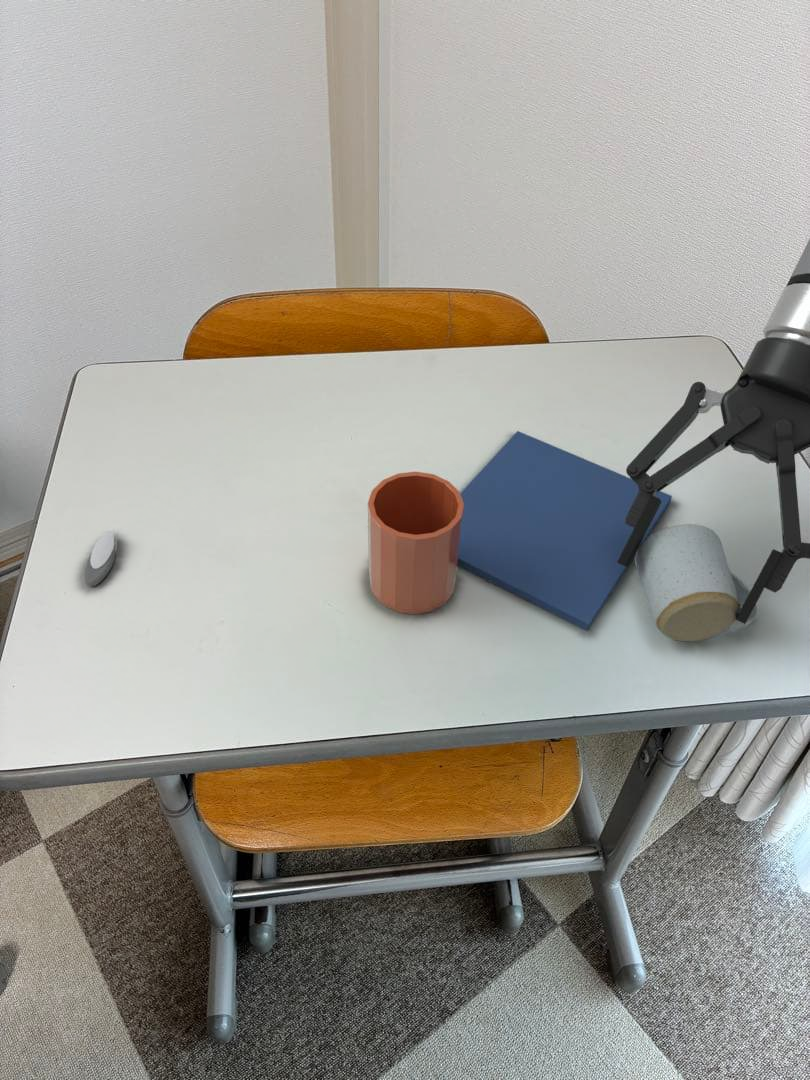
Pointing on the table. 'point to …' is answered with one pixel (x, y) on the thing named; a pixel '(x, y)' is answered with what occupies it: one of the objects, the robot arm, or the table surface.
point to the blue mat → (549, 527)
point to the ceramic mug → (690, 583)
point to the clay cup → (414, 541)
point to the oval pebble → (101, 559)
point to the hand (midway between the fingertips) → (680, 592)
